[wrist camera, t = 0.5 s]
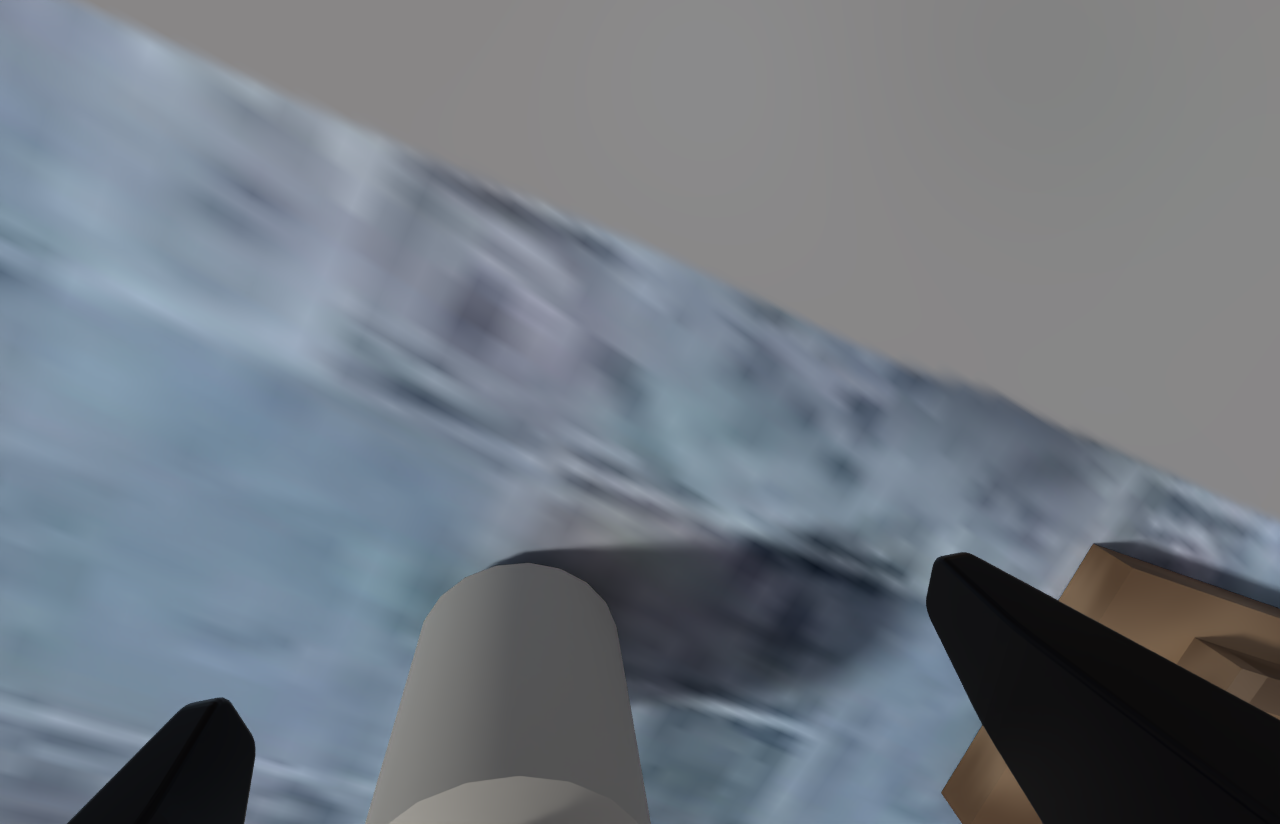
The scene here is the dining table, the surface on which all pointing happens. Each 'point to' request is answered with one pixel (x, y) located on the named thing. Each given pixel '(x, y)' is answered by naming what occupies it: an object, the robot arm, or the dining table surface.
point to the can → (514, 710)
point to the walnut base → (1160, 621)
